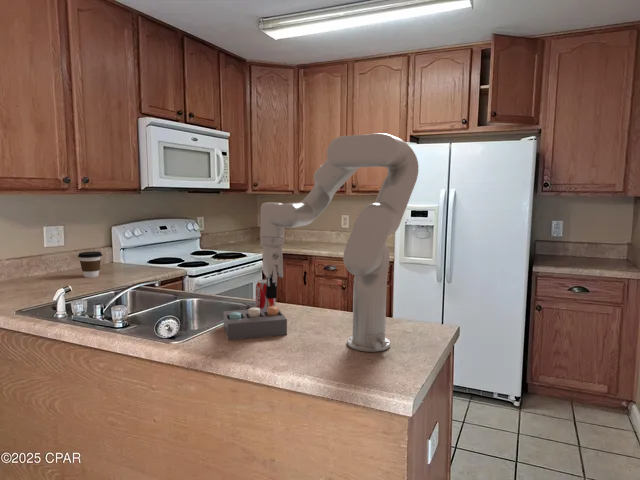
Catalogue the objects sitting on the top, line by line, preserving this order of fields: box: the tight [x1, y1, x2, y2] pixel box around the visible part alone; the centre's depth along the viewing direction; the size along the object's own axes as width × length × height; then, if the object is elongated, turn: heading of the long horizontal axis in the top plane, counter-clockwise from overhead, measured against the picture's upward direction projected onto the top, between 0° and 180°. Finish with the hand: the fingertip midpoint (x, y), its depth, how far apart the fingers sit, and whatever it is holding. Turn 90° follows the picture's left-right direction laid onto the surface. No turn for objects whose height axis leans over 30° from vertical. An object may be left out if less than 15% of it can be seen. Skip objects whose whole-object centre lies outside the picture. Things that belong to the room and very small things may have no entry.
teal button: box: [229, 312, 241, 319], centre depth 138 cm, size 4×4×3 cm
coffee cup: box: [77, 251, 103, 279], centre depth 220 cm, size 11×11×12 cm
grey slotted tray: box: [222, 308, 288, 341], centre depth 140 cm, size 14×18×5 cm
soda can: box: [255, 278, 276, 309], centre depth 159 cm, size 7×7×12 cm
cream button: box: [248, 307, 260, 318], centre depth 140 cm, size 4×4×3 cm
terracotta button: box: [267, 305, 279, 316], centre depth 141 cm, size 4×4×3 cm
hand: (271, 297), depth 141 cm, fingers closed
